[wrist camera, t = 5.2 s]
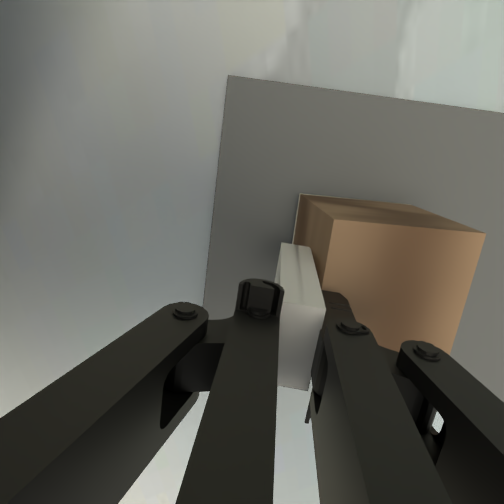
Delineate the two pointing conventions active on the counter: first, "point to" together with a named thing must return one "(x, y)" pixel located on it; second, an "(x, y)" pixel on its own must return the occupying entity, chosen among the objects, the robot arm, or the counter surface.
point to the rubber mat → (357, 188)
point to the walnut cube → (392, 265)
